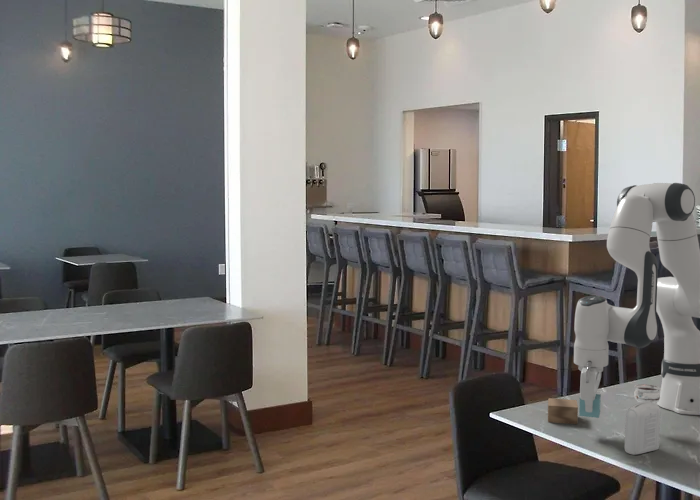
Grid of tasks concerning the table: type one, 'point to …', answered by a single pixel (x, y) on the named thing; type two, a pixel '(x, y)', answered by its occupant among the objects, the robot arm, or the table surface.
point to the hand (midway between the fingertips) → (590, 408)
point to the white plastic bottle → (642, 428)
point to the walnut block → (562, 411)
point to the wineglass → (646, 393)
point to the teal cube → (595, 407)
